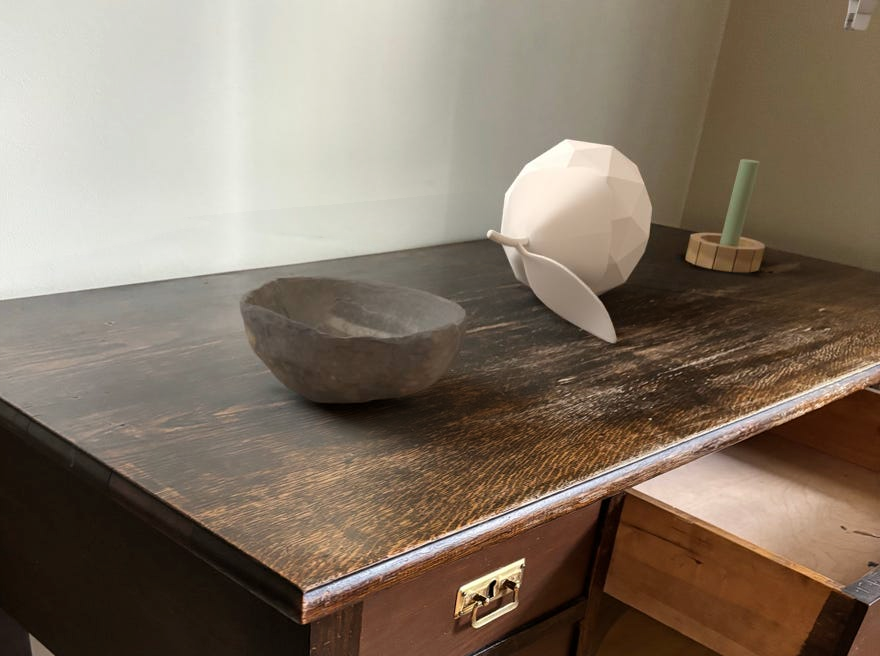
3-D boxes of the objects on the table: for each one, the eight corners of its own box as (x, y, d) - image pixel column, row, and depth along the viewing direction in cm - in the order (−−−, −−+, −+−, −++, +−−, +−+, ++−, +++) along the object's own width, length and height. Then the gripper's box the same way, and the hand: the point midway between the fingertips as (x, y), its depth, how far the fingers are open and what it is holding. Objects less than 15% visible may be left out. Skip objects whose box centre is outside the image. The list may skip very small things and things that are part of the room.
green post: (749, 271, 134) (778, 160, 126) (753, 284, 128) (785, 168, 120) (690, 264, 135) (716, 153, 127) (692, 276, 129) (720, 160, 121)
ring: (756, 261, 135) (762, 238, 134) (759, 276, 127) (766, 252, 126) (685, 251, 137) (691, 229, 136) (684, 265, 129) (690, 242, 128)
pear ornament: (604, 100, 109) (498, 111, 89) (732, 251, 110) (656, 298, 89) (511, 211, 120) (397, 244, 100) (627, 349, 121) (538, 410, 100)
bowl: (488, 388, 84) (501, 294, 80) (405, 454, 71) (414, 345, 66) (308, 347, 90) (310, 257, 85) (198, 401, 76) (195, 297, 72)
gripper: (942, -114, 107) (896, 33, 115) (903, -95, 124) (866, 32, 132) (882, -118, 108) (841, 28, 116) (852, -99, 125) (818, 27, 133)
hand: (854, 30), depth 124 cm, fingers open, 4 cm apart
